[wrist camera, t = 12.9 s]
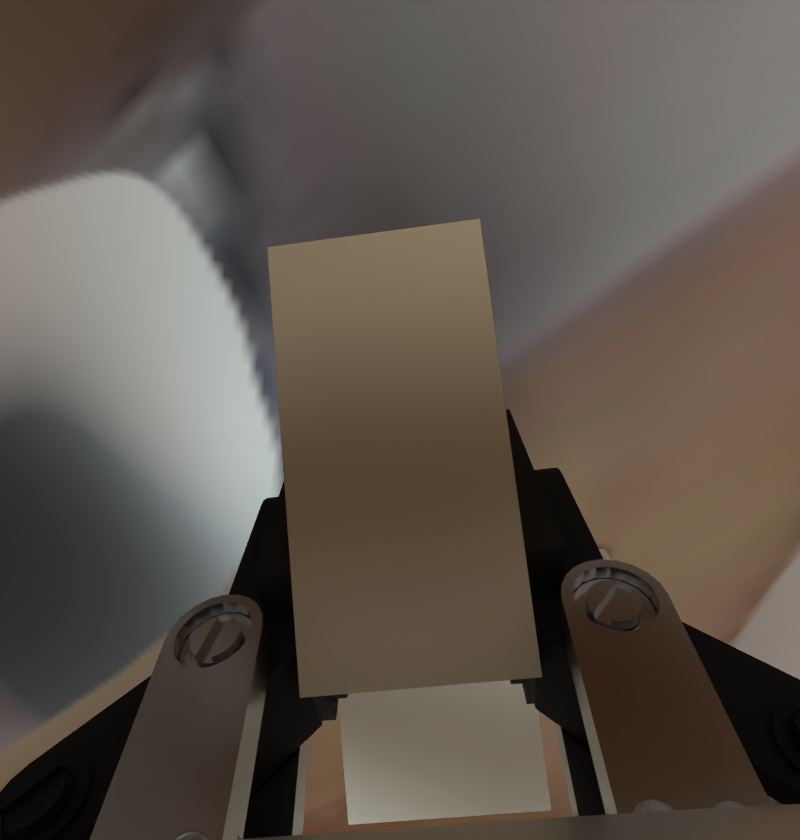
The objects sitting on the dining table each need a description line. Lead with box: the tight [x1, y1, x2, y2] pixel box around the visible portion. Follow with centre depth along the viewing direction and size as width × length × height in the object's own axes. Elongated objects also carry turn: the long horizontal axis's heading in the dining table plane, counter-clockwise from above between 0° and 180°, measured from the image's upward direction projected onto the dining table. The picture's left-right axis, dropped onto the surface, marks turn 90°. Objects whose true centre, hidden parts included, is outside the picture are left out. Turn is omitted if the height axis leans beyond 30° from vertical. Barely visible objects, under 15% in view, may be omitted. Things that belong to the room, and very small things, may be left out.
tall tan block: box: [267, 219, 551, 825], centre depth 9 cm, size 10×4×5 cm
